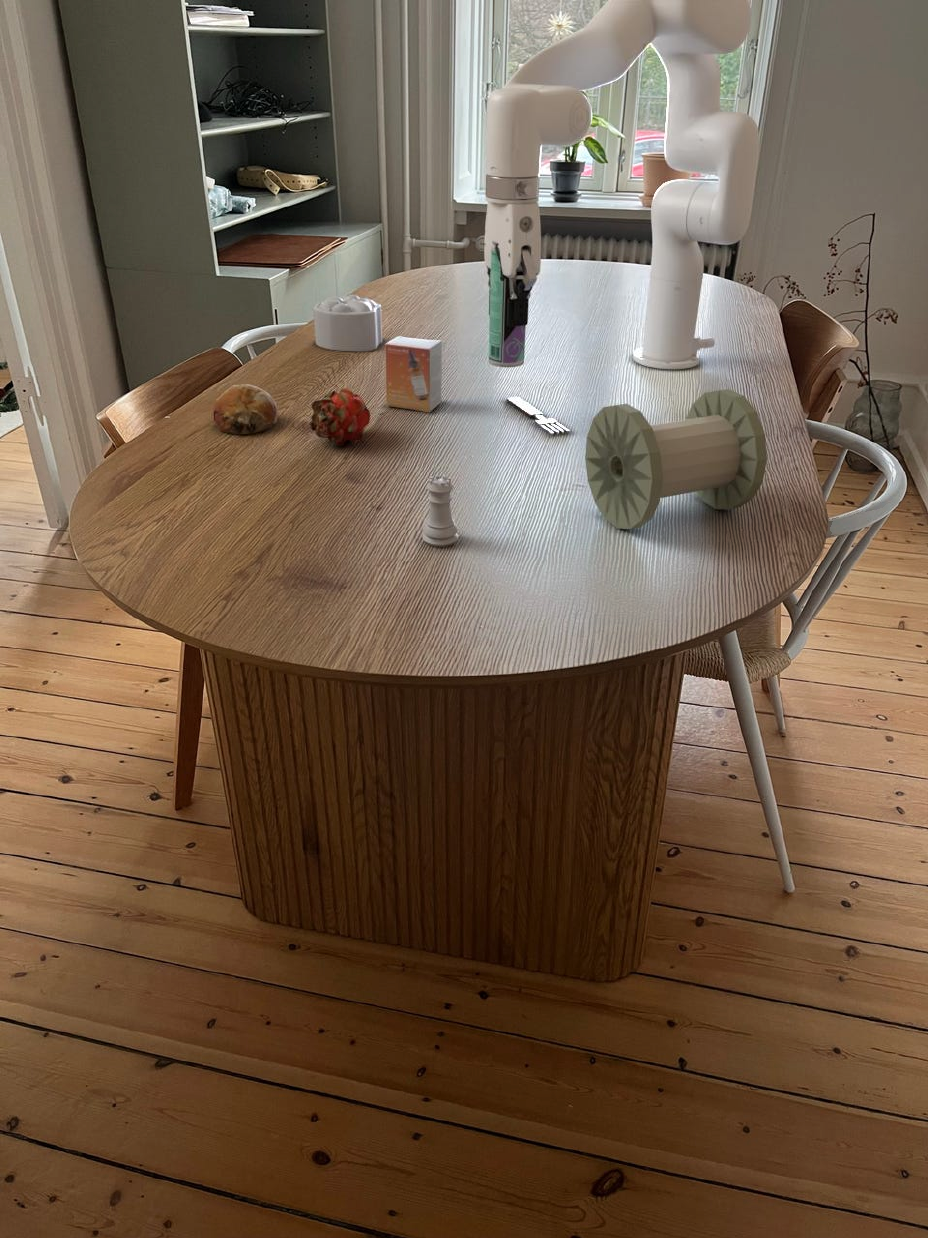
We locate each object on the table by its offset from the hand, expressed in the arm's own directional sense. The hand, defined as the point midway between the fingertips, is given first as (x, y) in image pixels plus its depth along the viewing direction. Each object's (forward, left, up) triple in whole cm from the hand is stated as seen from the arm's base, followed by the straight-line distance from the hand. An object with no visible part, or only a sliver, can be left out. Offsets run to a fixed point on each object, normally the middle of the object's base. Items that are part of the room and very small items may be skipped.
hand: (507, 319), depth 141 cm
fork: (-6, -1, -16) cm, 17 cm away
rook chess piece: (+25, +34, -17) cm, 45 cm away
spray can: (0, 0, -7) cm, 7 cm away
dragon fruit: (+26, -3, -17) cm, 31 cm away
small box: (+10, -14, -17) cm, 24 cm away
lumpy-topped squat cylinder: (+9, -54, -17) cm, 57 cm away
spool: (-5, +38, -17) cm, 42 cm away
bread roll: (+38, -15, -17) cm, 44 cm away
